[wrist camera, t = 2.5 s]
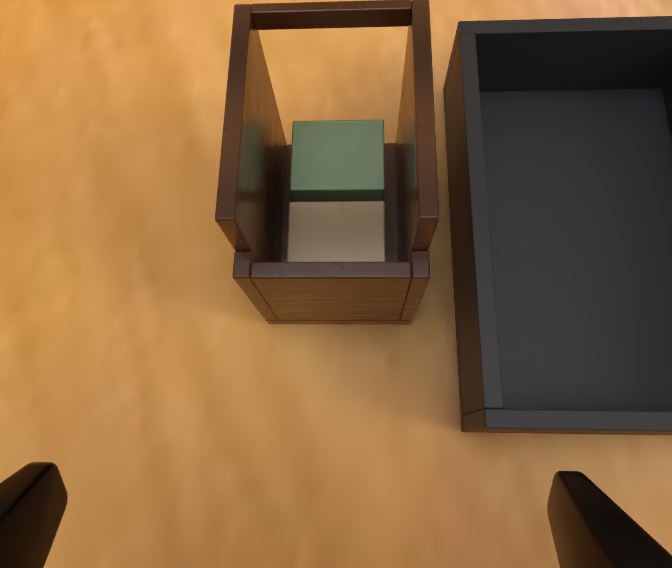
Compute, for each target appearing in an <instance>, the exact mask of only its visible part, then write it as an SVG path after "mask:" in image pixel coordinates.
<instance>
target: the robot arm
mask: <svg viewBox="0 0 672 568" xmlns="http://www.w3.org/2000/svg"><path fill="white" fill-rule="evenodd" d="M67 498H68V497H67V491H66V488H65V485H64V483H63V480H62V477H61V475H60V472H59V470H58V467H57V466H56V465H55V464H54V463H52V462H32V463H29V464H28V465H26V466H24V467H23V468H21V469H20V470H19V471H17V472H16V473H14V474H13V475H11V476H10V477H9V478H7V479H6V480H4V481H3V482H1V483H0V568H44V565H45V562H46V560H47V557H48V554H49V551H50V549H51V546H52V543H53V541H54V538H55V535H56V533H57V530H58V527H59V524H60V522H61V519H62V516H63V514H64V511H65V508H66V505H67ZM547 510H548V518H549V522H550V526H551V531H552V535H553V539H554V544H555V548H556V552H557V557H558V561H559V565H560V568H672V555H671V554H670V553H669V552H667V551H666V550H665V549H664V548H663V547H662V546H661V545H660V544H659V543H658V542H657V541H656V540H654V539H653V538H652V537H651V536H650V535H649V534H648V533H647V532H646V531H645V530H644V529H643V528H642V527H640V526H639V525H638V524H637V523H636V522H635V521H634V520H633V519H632V518H631V517H630V516H629V515H627V514H626V513H625V512H624V511H623V510H622V509H621V508H620V507H619V506H618V505H617V504H616V503H614V502H613V501H612V500H611V499H610V498H609V497H608V496H607V495H606V494H605V493H604V492H603V491H602V490H600V489H599V488H598V487H597V486H596V485H595V484H594V483H593V482H592V481H591V480H590V479H589V478H587V477H586V476H585V475H584V474H583V473H581V472H578V471H558V472H556V474H555V475H554V478H553V482H552V487H551V491H550V495H549V499H548V505H547Z"/></svg>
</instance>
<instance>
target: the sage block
mask: <svg viewBox="0 0 672 568" xmlns="http://www.w3.org/2000/svg"><path fill="white" fill-rule="evenodd" d="M290 192H291V196H292V199H293V202H352V201H383V202H384V192H385V167H384V121H383V120H332V121H293V129H292V150H291V172H290Z"/></svg>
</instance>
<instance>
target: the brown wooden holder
mask: <svg viewBox="0 0 672 568" xmlns="http://www.w3.org/2000/svg"><path fill="white" fill-rule="evenodd" d="M395 26H409V27H408V36H407V45H406V55H405V64H404V73H403V82H402V91H401V100H400V109H399V118H398V128H397V137H396V143H387V144H384V167H385V192H384V203H385V245H386V262H286V260H287V238H288V216H289V203H290V202H293V199H292V196H291V192H290V172H291V150H292V145H287V144H286V140H285V136H284V132H283V128H282V124H281V120H280V116H279V112H278V108H277V104H276V100H275V96H274V92H273V89H272V85H271V81H270V77H269V73H268V69H267V65H266V61H265V57H264V53H263V49H262V45H261V41H260V37H259V33H258V30H274V29H315V28H355V27H395ZM438 219H439V201H438V180H437V158H436V137H435V115H434V94H433V72H432V51H431V29H430V7H429V0H412V2H411V0H376V1H339V2H303V3H266V4H252V6H251V4H237V5H235V6H234V15H233V26H232V37H231V48H230V59H229V70H228V81H227V92H226V103H225V114H224V125H223V136H222V147H221V158H220V169H219V180H218V191H217V202H216V213H215V220H216V222H217V223H218V225H219V226H220V228H221V229H222V231H223V232H224V234H225V236H226V237H227V239H228V240H229V242H230V243H231V245H232V246H233V248H234V249H235V253H234V265H233V278H234V280H235V281H236V282H237V284H238V285H239V286H240V288H241V289H242V290H243V291H244V293H245V294H246V295H247V297H248V298H249V299H250V300H251V302H252V303H253V304H254V306H255V307H256V308H257V309H258V311H259V312H260V313H261V315H262V316H263V317H264V318H265V319H266V321H267V322H268V323H269V324H411V322H412V320H413V318H414V315H415V313H416V310H417V308H418V305H419V303H420V300H421V298H422V295H423V293H424V290H425V288H426V285H427V283H428V280H429V278H430V265H429V251H428V249H429V246H430V243H431V240H432V237H433V234H434V231H435V228H436V225H437V222H438Z"/></svg>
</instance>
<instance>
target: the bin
mask: <svg viewBox="0 0 672 568" xmlns="http://www.w3.org/2000/svg"><path fill="white" fill-rule="evenodd" d="M443 91H444V110H445V129H446V148H447V166H448V185H449V204H450V223H451V242H452V260H453V279H454V298H455V317H456V336H457V354H458V373H459V392H460V411H461V429H462V432H488V433H555V434H623V435H672V16H655V17H615V18H575V19H535V20H495V21H459V22H458V26H457V31H456V35H455V39H454V44H453V48H452V53H451V57H450V61H449V66H448V70H447V75H446V79H445V84H444V88H443Z"/></svg>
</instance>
